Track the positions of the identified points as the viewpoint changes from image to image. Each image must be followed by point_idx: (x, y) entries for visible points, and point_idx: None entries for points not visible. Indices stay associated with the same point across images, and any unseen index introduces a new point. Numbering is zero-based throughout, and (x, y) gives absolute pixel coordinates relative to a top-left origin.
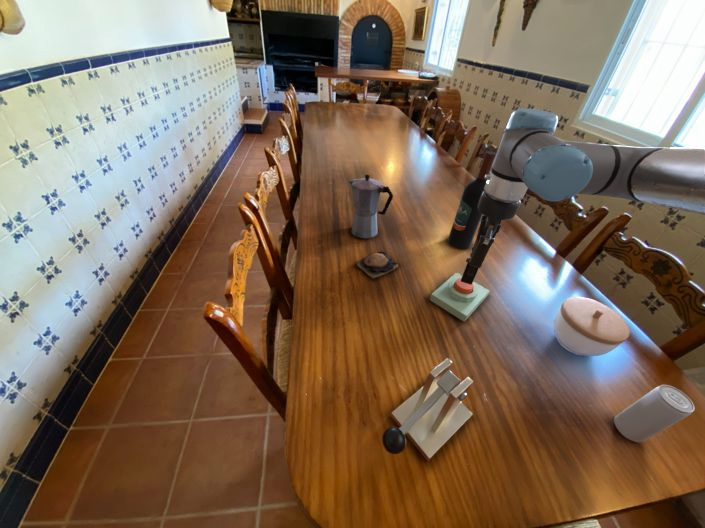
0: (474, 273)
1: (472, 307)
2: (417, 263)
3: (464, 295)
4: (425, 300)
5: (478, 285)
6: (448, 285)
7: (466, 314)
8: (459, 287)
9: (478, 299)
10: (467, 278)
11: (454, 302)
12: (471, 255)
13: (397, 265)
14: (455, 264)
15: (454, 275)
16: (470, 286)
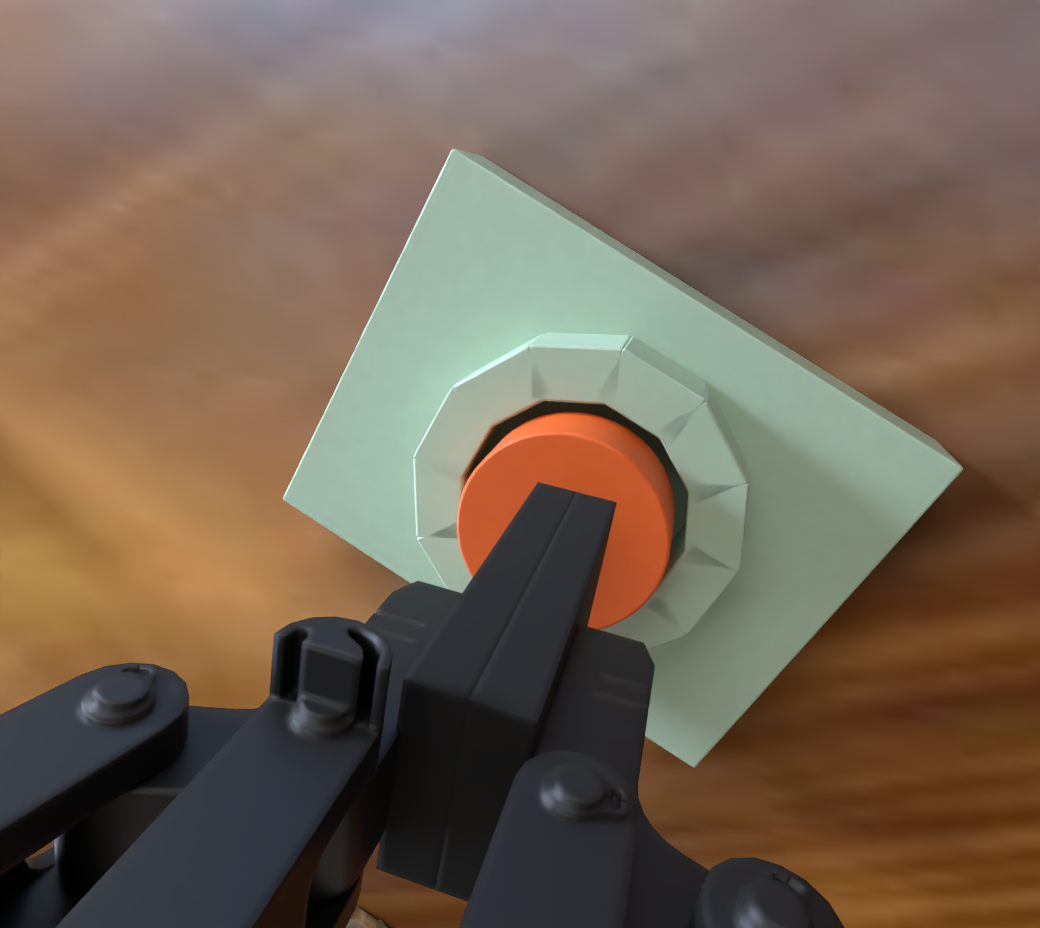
0: (579, 617)
1: (805, 391)
2: None
3: (715, 519)
4: (710, 750)
5: (408, 281)
6: None
7: (936, 469)
8: (644, 602)
9: (650, 307)
10: (587, 609)
11: (768, 574)
12: (350, 911)
13: (359, 925)
14: (123, 442)
15: (341, 525)
16: (594, 475)
